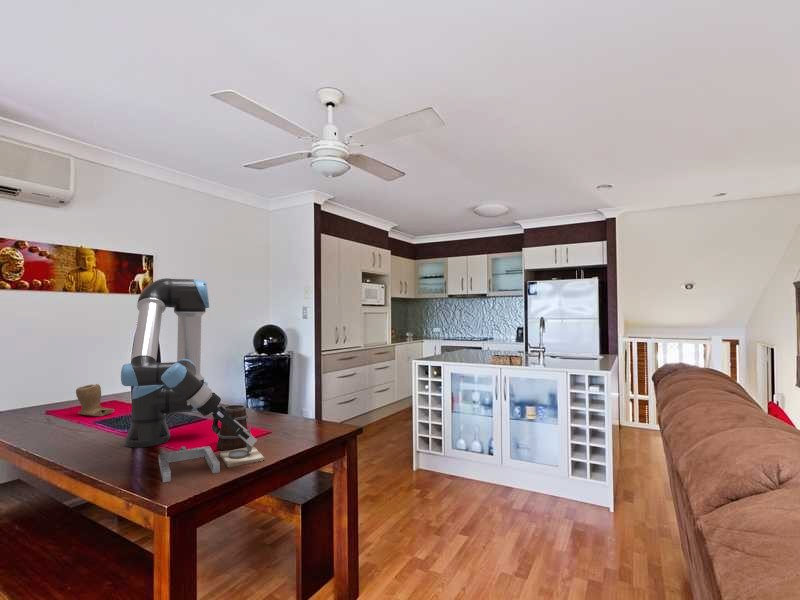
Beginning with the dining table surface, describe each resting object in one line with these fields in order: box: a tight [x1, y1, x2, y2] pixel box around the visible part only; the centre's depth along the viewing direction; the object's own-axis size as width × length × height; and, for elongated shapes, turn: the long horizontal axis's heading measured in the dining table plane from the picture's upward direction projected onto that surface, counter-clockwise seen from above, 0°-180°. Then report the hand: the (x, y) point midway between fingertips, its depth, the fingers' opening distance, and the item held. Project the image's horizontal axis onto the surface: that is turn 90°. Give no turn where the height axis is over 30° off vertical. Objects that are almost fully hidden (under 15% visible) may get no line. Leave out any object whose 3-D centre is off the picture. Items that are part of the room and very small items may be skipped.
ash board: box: [219, 446, 265, 468], centre depth 150 cm, size 14×12×1 cm
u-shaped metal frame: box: [158, 445, 221, 484], centre depth 144 cm, size 26×16×3 cm, turn 33°
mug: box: [211, 404, 249, 452], centre depth 164 cm, size 16×12×15 cm
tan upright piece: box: [75, 383, 115, 417], centre depth 208 cm, size 15×12×15 cm
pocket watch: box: [228, 425, 253, 458], centre depth 150 cm, size 8×8×10 cm
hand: (249, 438), depth 151 cm, fingers open, 13 cm apart
